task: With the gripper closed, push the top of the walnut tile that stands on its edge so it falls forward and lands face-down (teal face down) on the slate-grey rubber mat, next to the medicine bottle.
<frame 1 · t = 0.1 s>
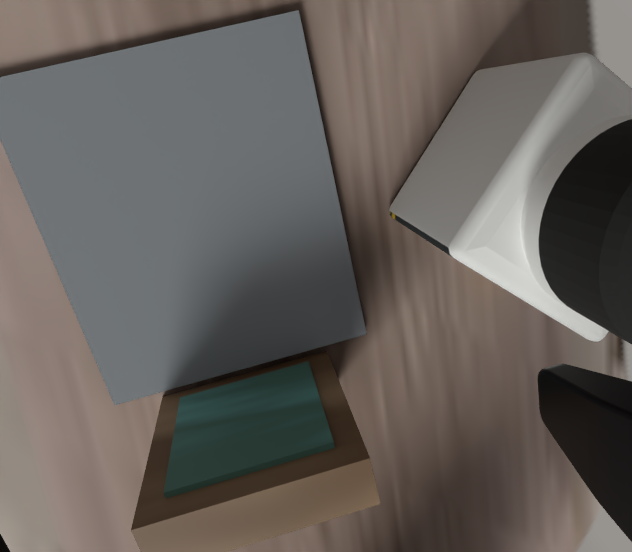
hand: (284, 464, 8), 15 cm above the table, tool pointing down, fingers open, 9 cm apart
mat: (198, 223, 21), on the table
tile: (251, 390, 24), on the table
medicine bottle: (486, 182, 23), on the table
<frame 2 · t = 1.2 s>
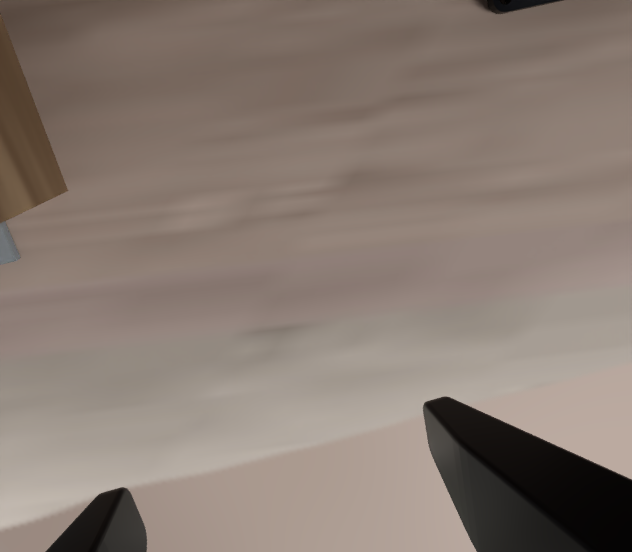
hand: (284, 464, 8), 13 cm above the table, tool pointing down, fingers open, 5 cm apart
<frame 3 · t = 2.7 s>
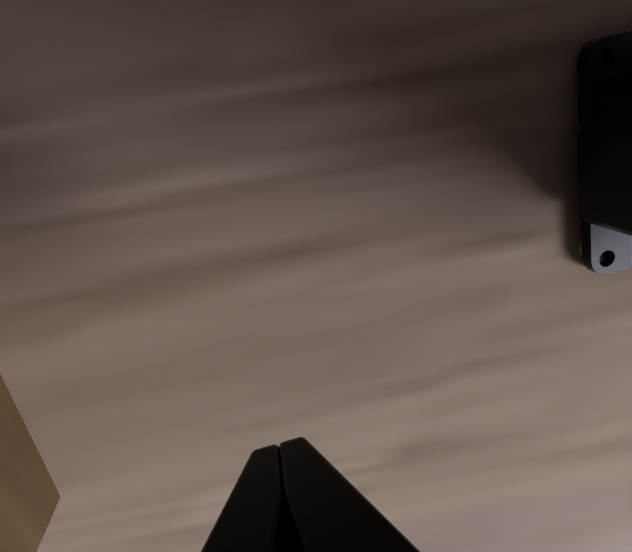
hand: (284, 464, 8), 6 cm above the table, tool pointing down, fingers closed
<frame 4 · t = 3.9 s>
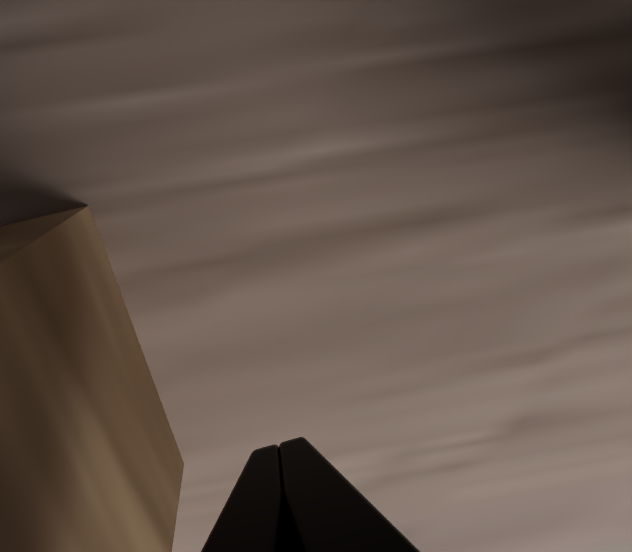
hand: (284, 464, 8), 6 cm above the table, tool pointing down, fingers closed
tile: (104, 356, 14), on the table
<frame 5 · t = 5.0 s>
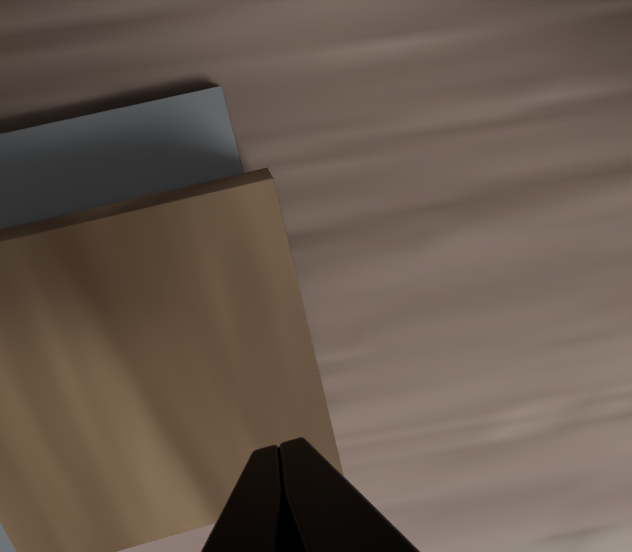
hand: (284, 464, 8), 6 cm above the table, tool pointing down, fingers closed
mat: (24, 377, 13), on the table
tile: (307, 331, 12), point 2 cm above the table, tilted 90°, touching mat
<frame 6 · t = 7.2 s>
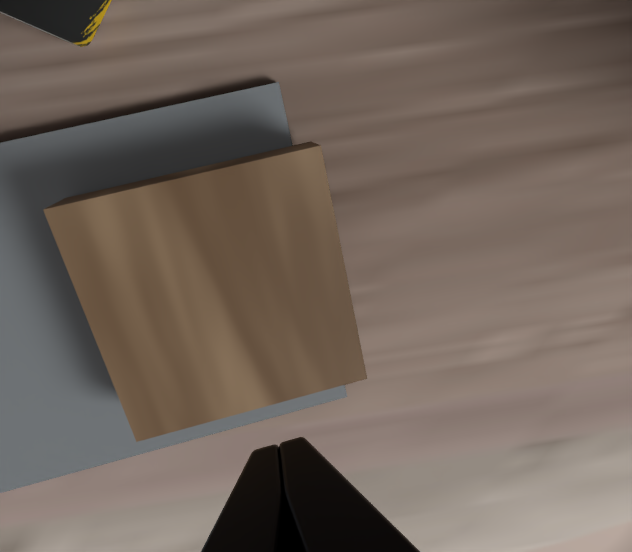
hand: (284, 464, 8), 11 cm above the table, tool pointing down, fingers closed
mat: (124, 301, 18), on the table
tile: (339, 263, 17), point 2 cm above the table, tilted 90°, touching mat
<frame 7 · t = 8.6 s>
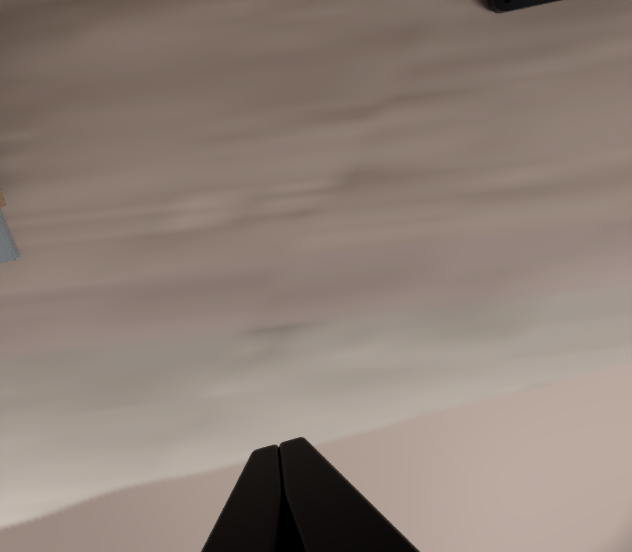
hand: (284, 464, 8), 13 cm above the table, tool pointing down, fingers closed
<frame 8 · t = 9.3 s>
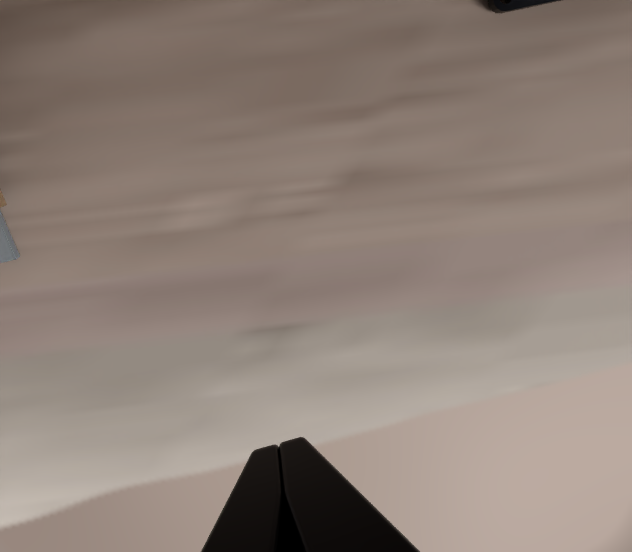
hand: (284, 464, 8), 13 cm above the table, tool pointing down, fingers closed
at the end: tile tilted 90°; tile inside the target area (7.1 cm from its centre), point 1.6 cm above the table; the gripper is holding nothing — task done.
